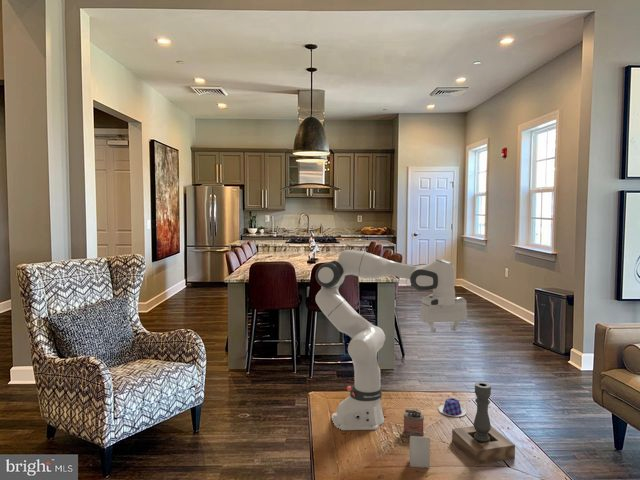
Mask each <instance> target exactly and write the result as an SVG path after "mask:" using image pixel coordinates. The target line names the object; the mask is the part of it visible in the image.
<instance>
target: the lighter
mask: <svg viewBox="0 0 640 480" xmlns="http://www.w3.org/2000/svg"><path fill="white" fill-rule="evenodd" d="M404 412H405V413H403V431H402V432H403V434H404V435H407V436H416V437H425V436H424V434H425V433H424V419H425V417H424V415H422V411H421V410H417V409H416V408H413V409H412V408H411V409H410V408H405V411H404Z"/></svg>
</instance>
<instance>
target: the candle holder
mask: <svg viewBox="0 0 640 480" xmlns="http://www.w3.org/2000/svg"><path fill="white" fill-rule="evenodd" d="M474 393H475V397H476V398H475V399H474V402H475V403H476V412H475V413H476V414H475V415H474V416H475V417H474V420H473V426H474V428H475V430H476V433H475V434H474V439H475V440H476V441H477V442H478V443H479V444H480V443H487V442H490V437H489V436H488V432H489V431H490V429H491V426H492V425H491V421H490V417H489V405H490V403H491V400H490V397H491V396H492V385H491V384H490V383H488V382H485V381H476V382H475V383H474Z"/></svg>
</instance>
